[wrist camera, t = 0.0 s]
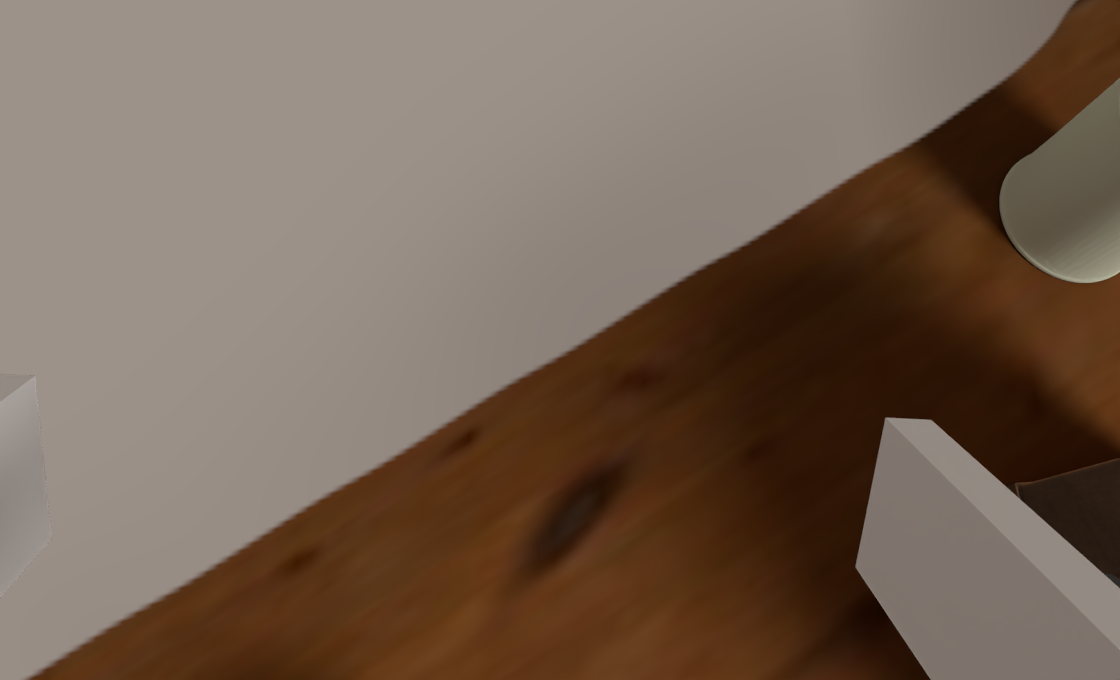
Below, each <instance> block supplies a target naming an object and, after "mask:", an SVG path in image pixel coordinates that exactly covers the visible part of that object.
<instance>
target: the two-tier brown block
mask: <svg viewBox="0 0 1120 680" xmlns="http://www.w3.org/2000/svg"><path fill="white" fill-rule="evenodd" d="M1006 487H1007V488H1008V489H1009V490H1010V491H1011V492H1013V493H1014V494H1015V495H1016V496H1017V497H1018V498H1019V499H1020V500H1021V501H1023V502H1024V503H1025V504H1026V505H1027V506H1028V507H1029V508H1030V509H1032V510H1033V511H1034V512H1035V513H1036V514H1037V515H1038V516H1039V517H1040V518H1042V519H1043V520H1044V521H1045V522H1046V523H1047V524H1048V525H1049V526H1051V527H1052V528H1053V529H1054V530H1055V531H1056V532H1057V533H1058V534H1060V535H1061V536H1062V537H1063V538H1064V539H1065V540H1066V541H1067V542H1068V543H1070V544H1071V545H1072V546H1073V547H1074V548H1075V549H1076V550H1077V551H1079V552H1080V553H1081V554H1082V555H1083V556H1084V557H1085V558H1086V559H1087V560H1089V561H1090V562H1091V563H1092V564H1093V565H1094V566H1095V567H1096V568H1098V569H1099V570H1100V571H1101V572H1102V573H1103V574H1112V575H1114V576H1116V577H1117V578H1119V579H1120V458H1117V459H1113V460H1110V461H1106V462H1102V463H1099V464H1095V465H1092V466H1088V467H1085V468H1081V469H1077V470H1074V471H1070V472H1067V473H1063V474H1059V475H1056V476H1052V477H1049V478H1045V479H1041V480H1038V481H1034V482H1023V483H1013V484H1010V485H1006Z"/></svg>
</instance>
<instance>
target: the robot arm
mask: <svg viewBox="0 0 1120 680" xmlns="http://www.w3.org/2000/svg"><path fill="white" fill-rule="evenodd" d="M51 539H52V537H51V526H50V516H49V506H48V497H47V486H46V476H45V468H44V457H43V447H42V437H41V427H40V417H39V407H38V397H37V387H36V377H35V376H32V375H12V374H0V597H1V596H2V595H3V594H4V593H5V592H6V591H7V590H8V588H9V587H10V586H11V585H12V584H13V583H14V582H15V580H16V579H17V578H18V577H19V576H20V575H21V573H22V572H23V571H24V570H25V569H26V568H27V567H28V565H29V564H30V563H31V562H32V561H33V560H34V559H35V557H36V556H37V555H38V554H39V553H40V552H41V551H42V550H43V548H44V547H45V546H46V545H47V544H48V543H49V541H50V540H51ZM855 567H856V569H857V570H858V572H859V573H860V575H861V576H862V578H863V579H864V581H865V582H866V584H867V585H868V587H869V588H870V590H871V591H872V593H873V594H874V596H875V597H876V599H877V600H878V602H879V603H880V605H881V606H882V608H883V609H884V611H885V612H886V614H887V615H888V617H889V618H890V620H891V621H892V623H893V624H894V626H895V627H896V629H897V630H898V632H899V633H900V635H901V636H902V638H903V639H904V640H905V642H906V643H907V645H908V646H909V648H910V649H911V651H912V652H913V654H914V655H915V657H916V658H917V660H918V661H919V663H920V664H921V666H922V667H923V669H924V670H925V672H926V673H927V675H928V676H929V678H930V679H931V680H1120V579H1119V578H1117V577H1116V576H1114V575H1112V574H1103V573H1102V572H1101V571H1100V570H1099V569H1098V568H1096V567H1095V566H1094V565H1093V564H1092V563H1091V562H1090V561H1089V560H1087V559H1086V558H1085V557H1084V556H1083V555H1082V554H1081V553H1080V552H1079V551H1077V550H1076V549H1075V548H1074V547H1073V546H1072V545H1071V544H1070V543H1068V542H1067V541H1066V540H1065V539H1064V538H1063V537H1062V536H1061V535H1060V534H1058V533H1057V532H1056V531H1055V530H1054V529H1053V528H1052V527H1051V526H1049V525H1048V524H1047V523H1046V522H1045V521H1044V520H1043V519H1042V518H1040V517H1039V516H1038V515H1037V514H1036V513H1035V512H1034V511H1033V510H1032V509H1030V508H1029V507H1028V506H1027V505H1026V504H1025V503H1024V502H1023V501H1021V500H1020V499H1019V498H1018V497H1017V496H1016V495H1015V494H1014V493H1013V492H1011V491H1010V490H1009V489H1008V488H1007V487H1006V486H1005V485H1004V484H1002V483H1001V482H1000V481H999V480H998V479H997V478H996V477H995V476H993V475H992V474H991V473H990V472H989V471H988V470H987V469H986V468H985V467H983V466H982V465H981V464H980V463H979V462H978V461H977V460H976V459H974V458H973V457H972V456H971V455H970V454H969V453H968V452H967V451H965V450H964V449H963V448H962V447H961V446H960V445H959V444H958V443H957V442H955V441H954V440H953V439H952V438H951V437H950V436H949V435H948V434H946V433H945V432H944V431H943V430H942V429H941V428H940V427H939V426H938V425H936V424H935V423H934V422H933V421H932V420H924V419H904V418H885V423H884V428H883V433H882V437H881V442H880V447H879V452H878V457H877V462H876V467H875V472H874V477H873V482H872V487H871V492H870V497H869V502H868V507H867V512H866V517H865V522H864V527H863V532H862V537H861V542H860V547H859V551H858V556H857V561H856V566H855Z"/></svg>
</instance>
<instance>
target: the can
mask: <svg viewBox="0 0 1120 680" xmlns="http://www.w3.org/2000/svg"><path fill="white" fill-rule="evenodd" d="M999 208H1000V215H1001V219H1002V223H1003V226H1004V228H1005V231H1006V233H1007V235H1008V237H1009V238H1010V240H1011V242H1012V243H1013V245H1014V246H1015V247H1016V249H1017V250H1018V251H1019V252H1020V253H1021V254H1022V256H1023V257H1025V258H1026V259H1027V260H1028V261H1029V262H1030V263H1031V264H1033V265H1034V266H1035V267H1037V268H1038V269H1040V270H1041V271H1043V272H1045V273H1047V274H1049V275H1051V276H1053V277H1056V278H1058V279H1061V280H1065V281H1070V282H1076V283H1092V282H1098V281H1102V280H1105V279H1108V278H1110V277H1112V276H1114V275H1116V274H1117V273H1119V272H1120V78H1119V79H1118V80H1117V81H1116V82H1115V83H1114V84H1112V85H1111V86H1110V87H1109V88H1108V89H1107V90H1106V91H1104V92H1103V93H1102V94H1101V95H1100V96H1099V97H1097V98H1096V99H1095V100H1094V101H1093V102H1092V103H1091V104H1089V105H1088V106H1087V107H1086V108H1085V109H1084V110H1082V111H1081V112H1080V113H1079V114H1078V115H1077V116H1076V117H1074V118H1073V119H1072V120H1071V121H1070V122H1069V123H1067V124H1066V125H1065V126H1064V127H1063V128H1062V129H1061V130H1059V131H1058V132H1057V133H1056V134H1055V135H1053V136H1052V137H1051V138H1050V139H1049V140H1047V141H1046V142H1045V143H1044V144H1043V145H1041V146H1040V147H1039V148H1038V149H1037V150H1035V151H1034V152H1033V153H1032V154H1030V155H1028V156H1026V157H1024V158H1023V159H1021V160H1020V161H1018V162H1017V163H1016V164H1015V165H1014V166H1013V167H1012V168H1011V169H1010V171H1009V172H1008V174H1007V175H1006V177H1005V179H1004V181H1003V184H1002V187H1001V191H1000V197H999Z"/></svg>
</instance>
